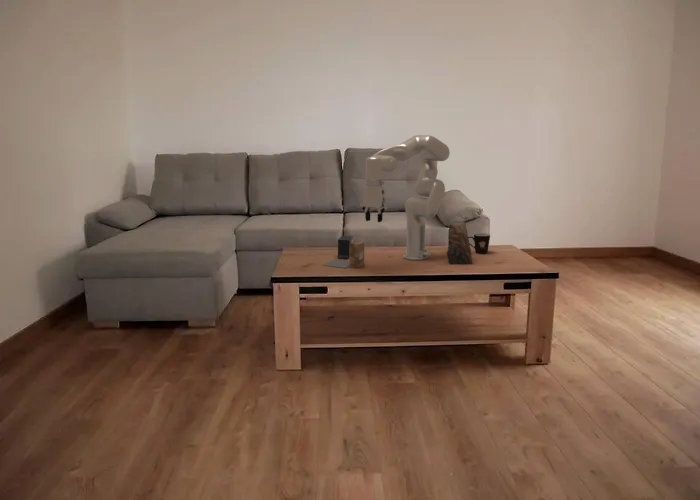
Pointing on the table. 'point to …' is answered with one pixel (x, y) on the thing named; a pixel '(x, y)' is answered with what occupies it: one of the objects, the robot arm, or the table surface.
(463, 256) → the brown grey rock
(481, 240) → the coffee mug
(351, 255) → the walnut block
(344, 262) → the mat
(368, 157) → the robot arm
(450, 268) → the table surface
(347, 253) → the small box
